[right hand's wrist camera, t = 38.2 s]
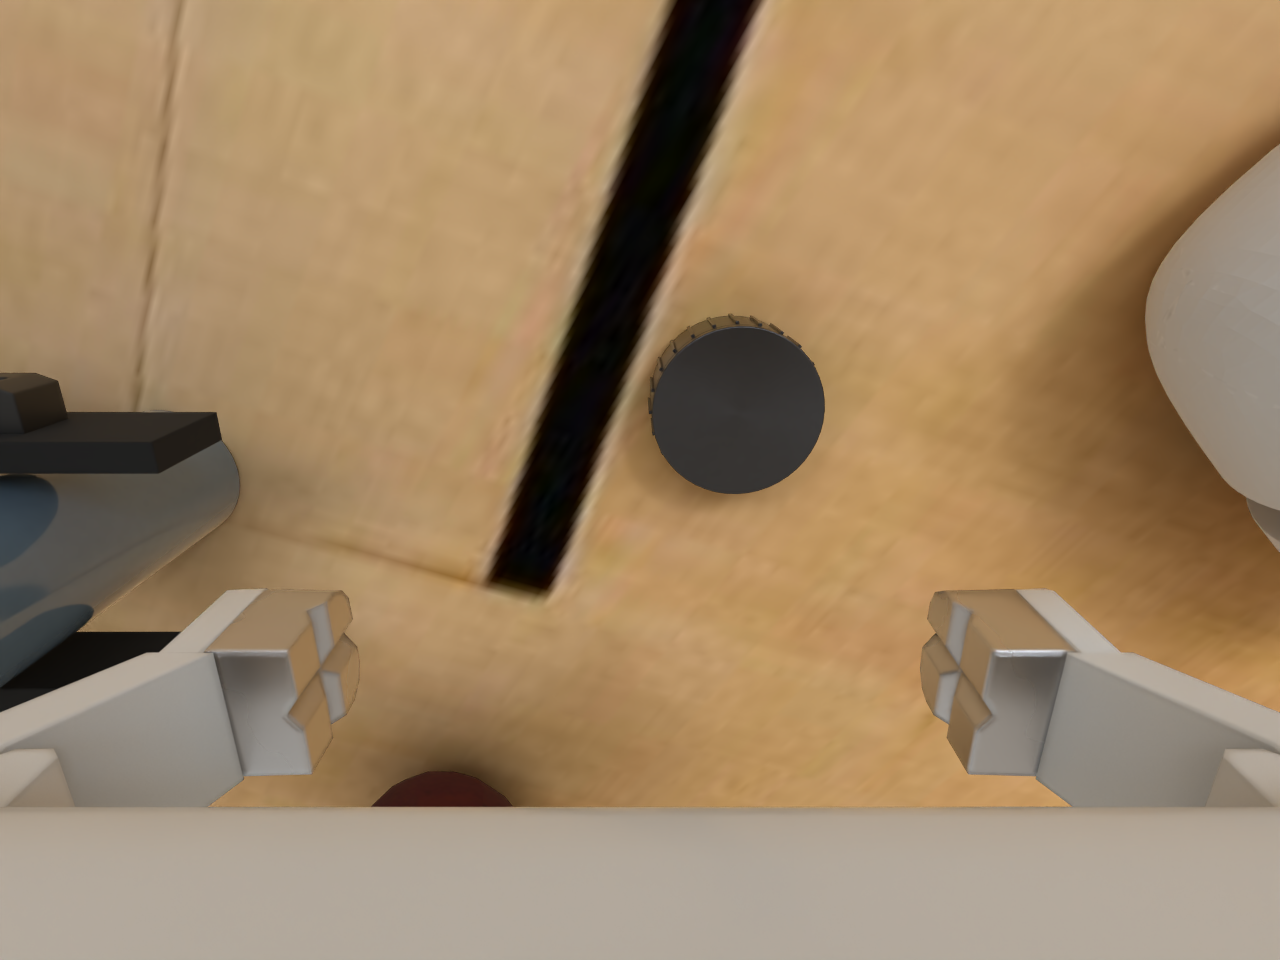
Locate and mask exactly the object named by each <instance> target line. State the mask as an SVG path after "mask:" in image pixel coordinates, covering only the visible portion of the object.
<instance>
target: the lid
mask: <svg viewBox="0 0 1280 960" xmlns="http://www.w3.org/2000/svg"><path fill="white" fill-rule="evenodd" d="M783 333H784V332H783V331H781V330H780V329H779V328H777V327H776V326H775V325H773V324H771V323H770V325H768V324H766V323H764V322H762V321H759V320H757V319H756V318H755V317H754V316H750V318H748V317H742V316H733V315H732V314H728V316H723V317H716V318H712V319H711V318H710V317H708V318H707V320H706V321H703V322H700V323H698V324H696V325H694V326H692V327H690V326H688V327H687V330H686V331H684V332H683V333H682V334H680V335H679V336H678V337H677V338H676V339H675V340H674V341H673V340H671V341H670V345H669V346H668V348H667V349H666V350H665V352H664V353H663V355H662V356H661V358H660V357H658V359H657V361H658V364H657V366H656V368H655V371H654V375H653V377H650V386H651V391H650V398H648V407H649V414H652V418H651V425H652V434H653V435H655V438H656V440H657V443H658V446H659V448H660V450H661V453H662V455H664V457H665V458H666V460H667V461H668V462H669V464H670V465H671V466H672V467H673V468H674V469H675V470H676V471H677V472H678V473H679V474H680V475H681V476H683V477H684V478H685V479H686V480H688V481H690V482H692V483H693V484H695V485H697V486H699V487H702V488H704V489H707V490H710V491H714V492H719V493H725V494H742V493H750V492H754V491H759V490H762V489H765V488H767V487H770V486H772V485H774V484H776V483H778V482H780V481H781V480H783V479H785V478H786V477H788V476H789V475H790V474H791V473H793V472H794V471H795V470H796V469H797V468H798V467H799V466H800V465H801V464H802V463H803V462H804V461H805V459H806V458H807V457H808V455H809V454H810V453H811V451H812V449H813V447H814V446H815V444H816V442H817V440H818V437H819V435H820V432H821V428H822V425H823V420H824V412H825V399H824V392H823V387H822V384H821V380H820V377H819V375H818V373H817V371H816V368H815V367H814V363H813V362H812V361H811V360H810V359H809V358H808V356H807V355H806V354H805V353H804V352H803V351H802V350H801V349H800V348H801V347H802V346H801V345H800V344H798V343H797V342H796V341H794V340H793V339H792V338H790V337H789V336H787V337H786V336H784V335H783Z"/></svg>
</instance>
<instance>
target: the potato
mask: <svg viewBox="0 0 1280 960" xmlns="http://www.w3.org/2000/svg"><path fill="white" fill-rule="evenodd" d="M371 807H513V806H512V805H511V804H510V802H509V801H508V800H507V799H506V797H505V796H503V795H502V794H500V793H499V792H497V791H496V790H494V789H493V788H491V787H490V786H488V785H487V784H485V783H484V782H482V781H481V780H479V779H477V778H475V777H472V776H468V775H465V774H461V773H457V772H425V773H423V774H420V775H417V776H414V777H411V778H409V779H406V780H404V781H402V782H400V783H398V784H396V785H394V786H392V787H391V788H390V789H389V790H388V791H387V792H386V793H385V794H384V795H383V796H382V797H381V798H380V799H379V800H378V801H376V802H375V803H374V804H373V805H372V806H371Z"/></svg>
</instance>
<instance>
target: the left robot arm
mask: <svg viewBox="0 0 1280 960" xmlns="http://www.w3.org/2000/svg"><path fill="white" fill-rule="evenodd" d="M221 440H222V438H221V433H220V428H219V423H218V418H217V413H216V412H66V408H65V405H64V401H63V397H62V394H61V390H60V387H59V383H58V381H57V380H54V379H51V378H48V377H45V376H42V375H40V374H37V373H0V474H159V473H161V472H163V471H165V470H167V469H169V468H170V467H172V466H174V465H176V464H178V463H180V462H182V461H183V460H185V459H187V458H189V457H191V456H193V455H195V454H197V453H198V452H200V451H202V450H204V449H206V448H208V447H210V446H211V445H213V444H215V443H217V442H219V441H221ZM180 633H181V632H75V633H74V634H72V635H71V636H70V637H68V638H67V639H66V640H64V641H63V642H62V643H60V644H59V645H58V646H56V647H55V648H53V649H52V650H51V651H49V652H48V653H47V654H45V655H44V656H43V657H41V658H40V659H39V660H37V661H36V662H35V663H33V664H32V665H31V666H29V667H28V668H26V669H25V670H24V671H22V672H21V673H20V674H18V675H17V676H16V677H14V678H13V679H12V680H10V681H9V682H8V683H6V684H5V685H4V686H2V687H1V688H0V712H3V711H5V710H7V709H10V708H12V707H15V706H17V705H20V704H22V703H25V702H27V701H29V700H32V699H34V698H37V697H39V696H42V695H44V694H47V693H49V692H52V691H54V690H56V689H59V688H61V687H64V686H66V685H69V684H71V683H74V682H76V681H78V680H81V679H83V678H86V677H88V676H91V675H93V674H96V673H98V672H100V671H103V670H105V669H108V668H110V667H113V666H115V665H118V664H120V663H123V662H125V661H127V660H130V659H132V658H135V657H137V656H140V655H142V654H145V653H159V652H160V651H161V650H162V649H163V648H164V647H166V646H167V645H168V644H169V643H170V642H171V641H172V640H173V639H174V638H175V637H176V636H178V635H179V634H180Z"/></svg>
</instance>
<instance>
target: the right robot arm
mask: <svg viewBox="0 0 1280 960" xmlns="http://www.w3.org/2000/svg"><path fill="white" fill-rule="evenodd" d="M352 620H353V618H352V613H351V608H350V603H349V598H348V597H347V596H346V595H345V593H344V592H343V591H339V590H286V589H271V590H269V589H267V588H265V589H235V590H227V591H226V592H225V593H223V594H222V595H221V596H220V597H219V598H218V599H217V600H216V601H215V602H214V603H213V604H211V605H210V606H209V607H208V608H207V609H206V610H205V611H204V612H203V613H202V614H201V615H199V616H198V617H197V618H196V619H195V620H194V621H193V622H192V623H191V624H190V625H188V626H187V627H186V628H185V629H184V630H183V631H182V632H181V633H180V634H179V635H178V636H176V637H175V638H174V639H173V640H172V641H171V642H170V643H169V644H168V645H167V646H166V647H164V648H163V649H162V650H161V651H160V652H159V653H145V654H142V655H140V656H137V657H135V658H132V659H130V660H127V661H125V662H123V663H120V664H118V665H115V666H113V667H110V668H108V669H105V670H103V671H100V672H98V673H96V674H93V675H91V676H88V677H86V678H83V679H81V680H78V681H76V682H74V683H71V684H69V685H66V686H64V687H61V688H59V689H56V690H54V691H52V692H49V693H47V694H44V695H42V696H39V697H37V698H34V699H32V700H29V701H27V702H25V703H22V704H20V705H17V706H15V707H12V708H10V709H7V710H5V711H3V712H0V960H1280V712H1277V711H1275V710H1272V709H1270V708H1267V707H1265V706H1262V705H1260V704H1258V703H1255V702H1253V701H1250V700H1248V699H1245V698H1243V697H1240V696H1238V695H1236V694H1233V693H1231V692H1228V691H1226V690H1223V689H1221V688H1218V687H1216V686H1214V685H1211V684H1209V683H1206V682H1204V681H1201V680H1199V679H1196V678H1194V677H1192V676H1189V675H1187V674H1184V673H1182V672H1179V671H1177V670H1174V669H1172V668H1170V667H1167V666H1165V665H1162V664H1160V663H1157V662H1155V661H1152V660H1150V659H1148V658H1145V657H1143V656H1140V655H1138V654H1135V653H1121V652H1120V651H1119V650H1118V649H1117V648H1116V647H1114V646H1113V645H1112V644H1111V643H1110V642H1109V641H1108V640H1107V639H1106V638H1105V637H1104V636H1102V635H1101V634H1100V633H1099V632H1098V631H1097V630H1096V629H1095V628H1094V627H1093V626H1092V625H1091V624H1089V623H1088V622H1087V621H1086V620H1085V619H1084V618H1083V617H1082V616H1081V615H1080V614H1079V613H1077V612H1076V611H1075V610H1074V609H1073V608H1072V607H1071V606H1070V605H1069V604H1068V603H1067V602H1065V601H1064V600H1063V599H1062V598H1061V597H1060V596H1059V595H1058V594H1057V593H1056V592H1055V591H1052V590H1048V589H1045V588H1040V589H1017V590H1015V589H1001V590H959V591H940V592H935V593H934V595H933V598H932V600H931V602H930V606H929V612H928V617H927V620H928V621H929V623H930V624H931V626H932V627H933V629H934V630H935V632H936V634H935V635H934V636H933V637H932V638H931V639H930V640H929V641H928V642H927V643H926V644H925V645H924V646H923V648H922V656H921V664H920V673H921V683H922V690H923V693H924V696H925V699H926V702H927V704H928V706H929V707H930V709H931V711H932V713H933V715H935V716H936V717H938V718H939V719H941V720H943V721H944V722H946V723H947V724H949V728H948V733H947V739H948V741H949V742H950V744H951V746H952V748H953V749H954V751H955V753H956V754H957V756H958V758H959V759H960V761H961V763H962V765H963V766H964V768H965V770H966V771H967V773H968V774H976V775H1013V776H1036V780H1038V781H1039V782H1040V783H1042V784H1043V785H1044V786H1046V787H1047V788H1048V789H1050V790H1051V791H1052V792H1054V793H1055V794H1056V795H1058V796H1059V797H1060V798H1062V799H1063V800H1064V801H1066V802H1067V803H1068V804H1070V805H1071V806H1072V807H208V806H209V805H210V804H212V803H213V802H214V801H216V800H217V799H218V798H220V797H221V796H222V795H224V794H225V793H226V792H228V791H229V790H230V789H232V788H233V787H235V786H236V785H237V784H239V783H240V782H241V781H243V780H244V777H243V776H266V775H302V774H312V773H313V771H314V770H315V768H316V766H317V765H318V763H319V761H320V759H321V758H322V756H323V754H324V753H325V751H326V749H327V747H328V746H329V744H330V742H331V741H332V739H333V734H332V728H331V724H333V723H334V722H336V721H337V720H339V719H340V718H342V717H344V716H345V715H347V713H348V711H349V709H350V707H351V705H352V704H353V702H354V700H355V696H356V692H357V687H358V683H359V671H360V662H359V655H358V648H357V646H356V645H355V644H354V643H353V642H352V641H351V640H350V639H349V638H348V637H347V636H346V635H345V634H344V632H345V630H346V629H347V627H348V626H349V624H350V623H351V621H352Z"/></svg>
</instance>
